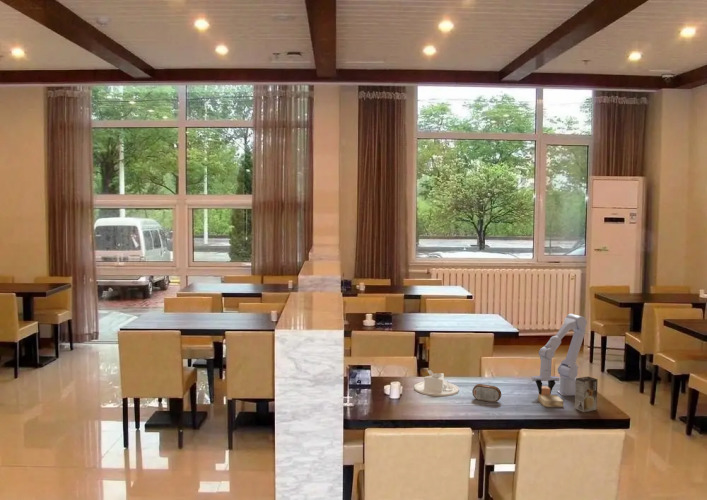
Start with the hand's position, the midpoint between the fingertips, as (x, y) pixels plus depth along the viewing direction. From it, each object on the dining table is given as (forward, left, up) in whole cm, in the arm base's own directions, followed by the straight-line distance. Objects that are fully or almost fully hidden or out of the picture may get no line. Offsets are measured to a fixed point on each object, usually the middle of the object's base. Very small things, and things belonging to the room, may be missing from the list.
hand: (544, 393), depth 351 cm
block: (0, 0, -1) cm, 1 cm away
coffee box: (-14, +21, -2) cm, 25 cm away
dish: (+57, -12, -2) cm, 58 cm away
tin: (+34, +8, -2) cm, 35 cm away
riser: (+1, +12, -1) cm, 12 cm away
